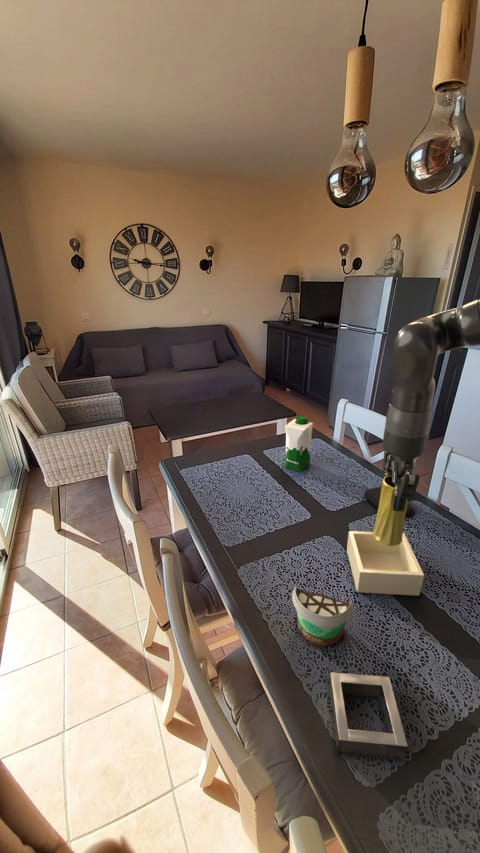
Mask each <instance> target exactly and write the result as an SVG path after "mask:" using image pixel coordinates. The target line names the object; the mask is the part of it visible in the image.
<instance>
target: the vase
mask: <svg viewBox="0 0 480 853" xmlns="http://www.w3.org/2000/svg"><path fill="white" fill-rule="evenodd" d="M397 480H402V478H398V477H397ZM400 486H401V485H399V489H400ZM381 487H382V489H381V495H380V501H379V508H377V510H378V511H377V514H376V518H375V523H374V526H373V530H372V531H371V532H372V533H373V537H374V538H375V539H376V540H377V541H378V542H380V543H381V544H384V545H387V546H396V545H399V544H400V543H401V542H402V535H403V533H404V528H405V527H404V526H405V522H406V521H405V520H406V516H405V515H406V509H407V503H409V499H406V505H405V510H404V511H394V510H393V508H392V505H393V499H394V494H395V493H394V492H395V484H394V483H393V482H392V475H388V476H386V477H385V476H384V477H383V479H382V482H381Z"/></svg>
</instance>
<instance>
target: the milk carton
mask: <svg viewBox="0 0 480 853" xmlns="http://www.w3.org/2000/svg"><path fill="white" fill-rule="evenodd" d="M295 417H296V418H293V420H291V421H289V422H288V423H287V424H286V425H284V429H285V458H284V459H285V460H284V462H285V463H284V468H286V469H289V470H293V471H296V472H299V473H303V472H304V470H306V469H307V468H308V466H309V465H310V464H311V452H312V451H311V450H312V438H313V437H312V434H313V427H314V422H311V421H308V416H306V415H303V414H299V415H296V416H295Z"/></svg>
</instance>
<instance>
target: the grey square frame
mask: <svg viewBox="0 0 480 853" xmlns="http://www.w3.org/2000/svg"><path fill="white" fill-rule="evenodd" d="M329 673H330V674H329V682H328V685H329V686H328V687H329V693H330V694H329V695H330V703H331V709H332V710H331V711H332V718H333V725H334V733H335V741H336V742H335V743H336V749H337V750H336V751H337V752H338V753H348V754H349V753H350V754H359V755H370V756H380V757H388V758H389V757H390V758H399V759H405V758H406V755H407V751H408V747H409V746H408V742H407V738H406V734H405V731H404V726H403V723H402V720H401V716H400V712H399V708H398V705H397V700H396V698H395V693H394V689H393V686H392V683H391V679H390V676H383V675H372V674H371V675H370V674H357V673H344V672H332V671H331V672H329ZM344 695H352V696H353V695H354V696H364V697H365V696H366V697H377V698H379V700H380V704H381V707H382V712H383V717H384V721H385V725H386V729H387V732H382V731H373V730H372V731H370V730H360V729H349V727H348V720H347V713H346V705H345V699H344Z"/></svg>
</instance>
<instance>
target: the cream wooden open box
mask: <svg viewBox="0 0 480 853" xmlns="http://www.w3.org/2000/svg"><path fill="white" fill-rule="evenodd" d="M372 532H373V531H360V530H349V531H348V535H347V545H346V552H347V557H348V561H349V565H350V569H351V574H352V577H353V582H354V586H355V590H356V592H357V593H364V594H365V593H366V594H382V595H383V594H384V595H401V596H417V597H419V596H420V595H421V591H422V586H423V582H424V579H425V574H424V572H423V570H422V568H421V566H420V563H419V561H418V559H417V557H416V555H415V552H414V550H413V548H412V547H411V545H410V541H409V540H408V538H407V535H406V534H405V532H403V535H402V542H401V543H400V544H399V545H396V546H387V545H384V544H381V543H380V542H378V541H377V540H376V539H375V538H374V537H373V533H372Z"/></svg>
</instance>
